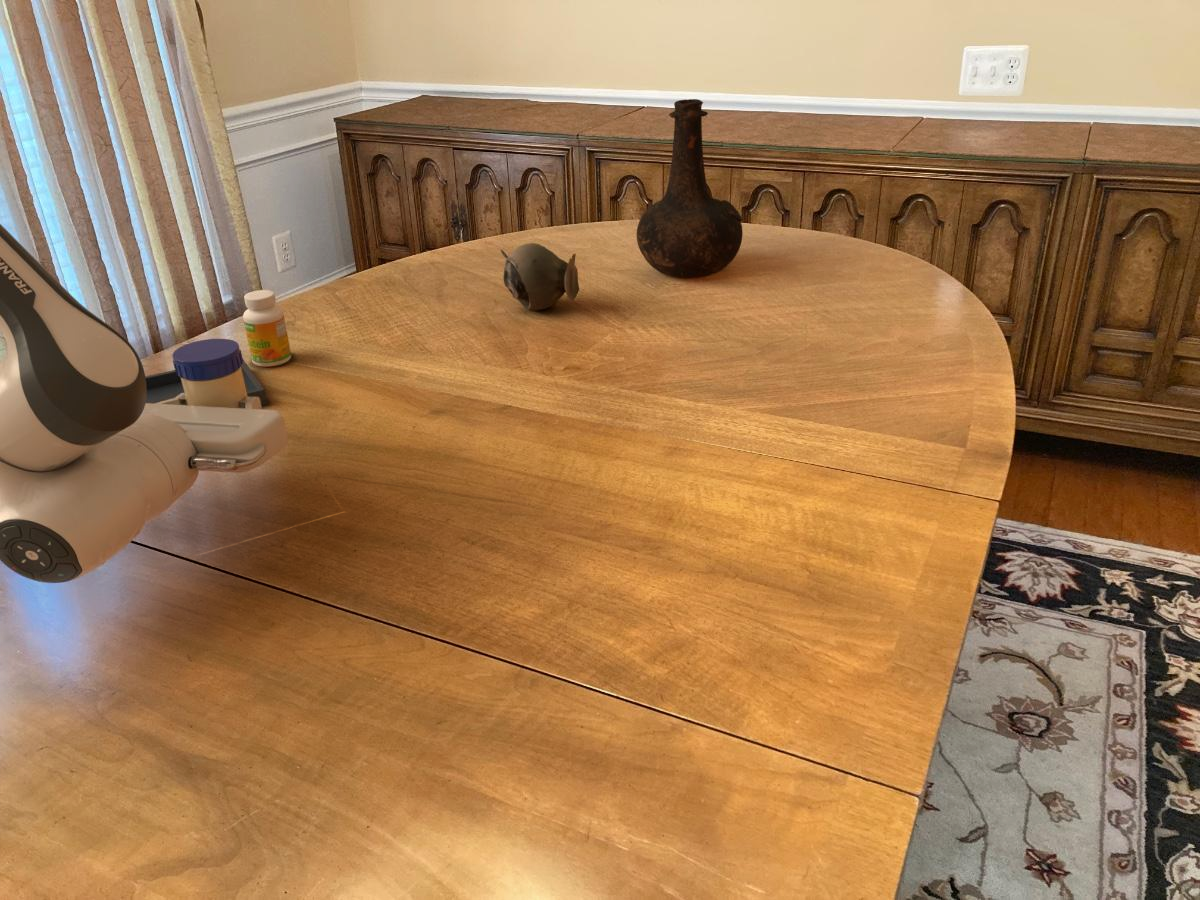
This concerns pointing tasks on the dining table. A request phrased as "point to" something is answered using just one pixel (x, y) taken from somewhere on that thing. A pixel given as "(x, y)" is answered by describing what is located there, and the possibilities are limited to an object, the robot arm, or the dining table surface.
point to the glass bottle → (689, 210)
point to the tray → (171, 387)
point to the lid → (207, 359)
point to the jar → (216, 391)
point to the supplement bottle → (266, 329)
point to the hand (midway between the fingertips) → (222, 400)
